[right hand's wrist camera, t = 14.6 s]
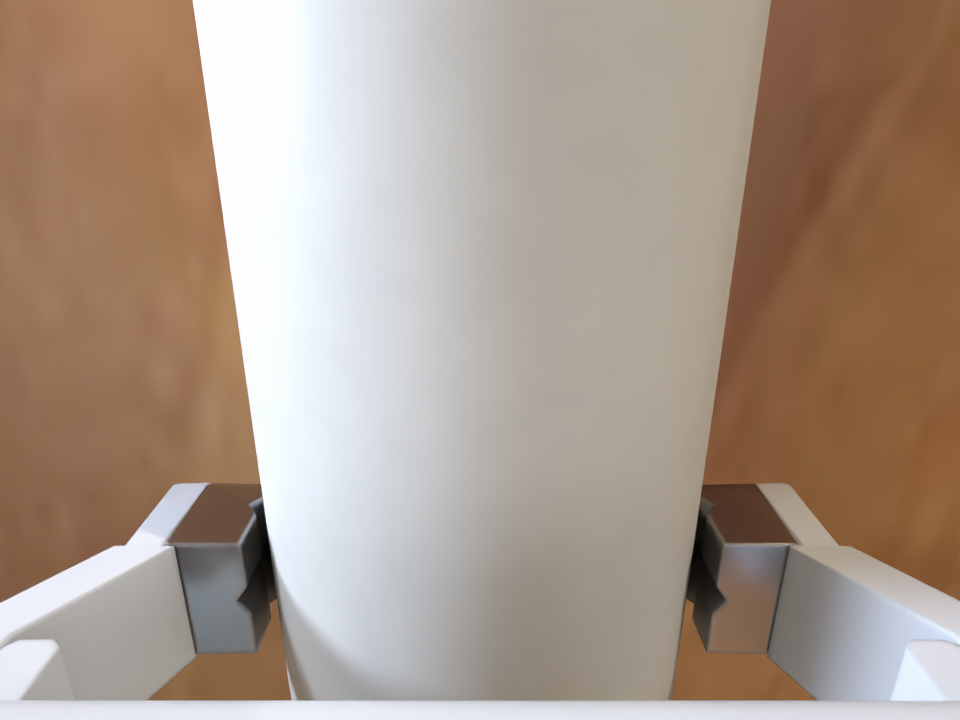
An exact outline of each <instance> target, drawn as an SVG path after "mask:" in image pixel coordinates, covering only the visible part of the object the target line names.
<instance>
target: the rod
mask: <svg viewBox="0 0 960 720" xmlns="http://www.w3.org/2000/svg"><path fill="white" fill-rule="evenodd" d="M193 4H194V12H195V19H196V26H197V33H198V40H199V47H200V54H201V61H202V68H203V75H204V83H205V90H206V97H207V104H208V111H209V118H210V125H211V132H212V139H213V147H214V154H215V161H216V168H217V175H218V182H219V189H220V196H221V203H222V211H223V218H224V225H225V232H226V239H227V246H228V253H229V260H230V267H231V275H232V282H233V289H234V296H235V303H236V310H237V317H238V324H239V331H240V339H241V346H242V353H243V360H244V367H245V374H246V381H247V388H248V395H249V403H250V410H251V417H252V424H253V431H254V438H255V445H256V452H257V459H258V467H259V474H260V481H261V488H262V495H263V502H264V509H265V516H266V523H267V531H268V538H269V545H270V552H271V559H272V566H273V573H274V580H275V587H276V595H277V602H278V609H279V616H280V623H281V630H282V637H283V644H284V651H285V659H286V666H287V673H288V680H289V687H290V694H291V701H672V695H673V688H674V681H675V674H676V667H677V660H678V653H679V646H680V638H681V631H682V624H683V617H684V610H685V603H686V596H687V589H688V582H689V575H690V568H691V561H692V554H693V547H694V540H695V533H696V526H697V519H698V512H699V505H700V498H701V491H702V483H703V476H704V469H705V462H706V455H707V448H708V441H709V434H710V427H711V420H712V413H713V406H714V399H715V392H716V385H717V378H718V371H719V364H720V357H721V350H722V343H723V336H724V328H725V321H726V314H727V307H728V300H729V293H730V286H731V279H732V272H733V265H734V258H735V251H736V244H737V237H738V230H739V223H740V216H741V209H742V202H743V195H744V188H745V181H746V173H747V166H748V159H749V152H750V145H751V138H752V131H753V124H754V117H755V110H756V103H757V96H758V89H759V82H760V75H761V68H762V61H763V54H764V47H765V40H766V33H767V26H768V18H769V11H770V4H771V0H193Z"/></svg>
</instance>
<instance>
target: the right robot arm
mask: <svg viewBox="0 0 960 720" xmlns="http://www.w3.org/2000/svg"><path fill="white" fill-rule="evenodd" d="M276 598H277V595H276V587H275V580H274V573H273V566H272V559H271V552H270V545H269V538H268V531H267V523H266V516H265V509H264V502H263V495H262V488H261V484H226V483H213V484H210V483H180V484H176V485H173V486H172V487H171V489H170V490H169V491H168V492H167V494H166V495H165V496H164V497H163V499H162V500H161V501H160V503H159V504H158V505H157V506H156V508H155V509H154V510H153V511H152V513H151V514H150V515H149V516H148V518H147V519H146V520H145V521H144V523H143V524H142V525H141V526H140V528H139V529H138V530H137V531H136V533H135V534H134V535H133V536H132V538H131V539H130V540H129V541H128V543H127V544H126V545H125V546H113V547H111V548H109V549H107V550H105V551H103V552H101V553H99V554H97V555H95V556H93V557H91V558H89V559H87V560H85V561H83V562H81V563H79V564H77V565H75V566H73V567H71V568H69V569H67V570H65V571H63V572H61V573H59V574H57V575H55V576H53V577H51V578H49V579H47V580H45V581H43V582H41V583H39V584H37V585H35V586H33V587H31V588H29V589H27V590H25V591H23V592H21V593H19V594H17V595H15V596H13V597H11V598H9V599H7V600H5V601H3V602H1V603H0V720H960V601H959V600H957V599H955V598H953V597H951V596H949V595H947V594H945V593H943V592H941V591H939V590H937V589H935V588H933V587H931V586H929V585H927V584H925V583H923V582H921V581H919V580H917V579H915V578H913V577H911V576H909V575H907V574H905V573H903V572H901V571H899V570H897V569H895V568H893V567H891V566H889V565H887V564H885V563H883V562H881V561H879V560H877V559H875V558H873V557H871V556H869V555H867V554H865V553H863V552H861V551H859V550H857V549H855V548H853V547H851V546H839V545H838V544H837V543H836V542H835V540H834V539H833V538H832V537H831V535H830V534H829V533H828V532H827V531H826V529H825V528H824V527H823V526H822V524H821V523H820V522H819V521H818V519H817V518H816V517H815V516H814V514H813V513H812V512H811V511H810V510H809V508H808V507H807V506H806V505H805V503H804V502H803V501H802V500H801V498H800V497H799V496H798V495H797V493H796V492H795V491H794V490H793V488H792V487H791V486H790V485H788V484H785V483H758V484H725V485H702V491H701V498H700V505H699V512H698V519H697V526H696V533H695V540H694V547H693V554H692V561H691V568H690V575H689V582H688V589H687V596H686V598H687V599H688V600H690V601H691V602H692V603H694V610H693V617H692V618H693V621H694V623H695V625H696V628H697V630H698V633H699V635H700V637H701V640H702V642H703V645H704V647H705V649H706V652H707V653H744V654H768V656H767V657H768V658H769V659H770V660H771V661H773V662H774V663H775V664H776V665H777V666H778V667H779V668H781V669H782V670H783V671H784V672H785V673H786V674H788V675H789V676H790V677H791V678H792V679H793V680H794V681H796V682H797V683H798V684H799V685H800V686H801V687H802V688H804V689H805V690H806V691H807V692H808V693H809V694H810V695H812V696H813V697H814V698H815V699H816V700H787V701H786V700H785V701H237V700H235V701H233V700H148V699H149V698H150V697H151V696H153V695H154V694H155V693H156V692H157V691H158V690H159V689H161V688H162V687H163V686H164V685H165V684H166V683H167V682H169V681H170V680H171V679H172V678H173V677H174V676H175V675H177V674H178V673H179V672H180V671H181V670H182V669H183V668H185V667H186V666H187V665H188V664H189V663H190V662H191V661H193V660H194V659H195V658H196V654H219V653H254V652H257V651H258V648H259V646H260V644H261V641H262V639H263V636H264V634H265V631H266V629H267V626H268V624H269V621H270V619H271V614H270V607H269V603H271V602H272V601H274V600H275V599H276Z"/></svg>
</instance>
